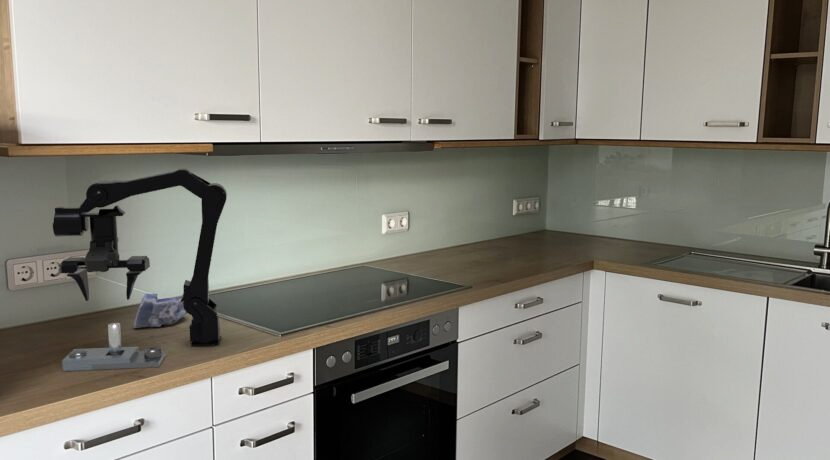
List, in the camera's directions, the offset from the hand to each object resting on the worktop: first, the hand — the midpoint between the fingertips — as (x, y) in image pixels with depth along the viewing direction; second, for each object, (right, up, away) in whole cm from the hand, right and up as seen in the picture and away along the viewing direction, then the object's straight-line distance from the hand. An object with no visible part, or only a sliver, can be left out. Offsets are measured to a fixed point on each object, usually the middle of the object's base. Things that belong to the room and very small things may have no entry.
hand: (107, 300), depth 166 cm
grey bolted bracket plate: (+6, -13, -8) cm, 17 cm away
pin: (+6, -13, -8) cm, 17 cm away
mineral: (+4, -9, +23) cm, 25 cm away
